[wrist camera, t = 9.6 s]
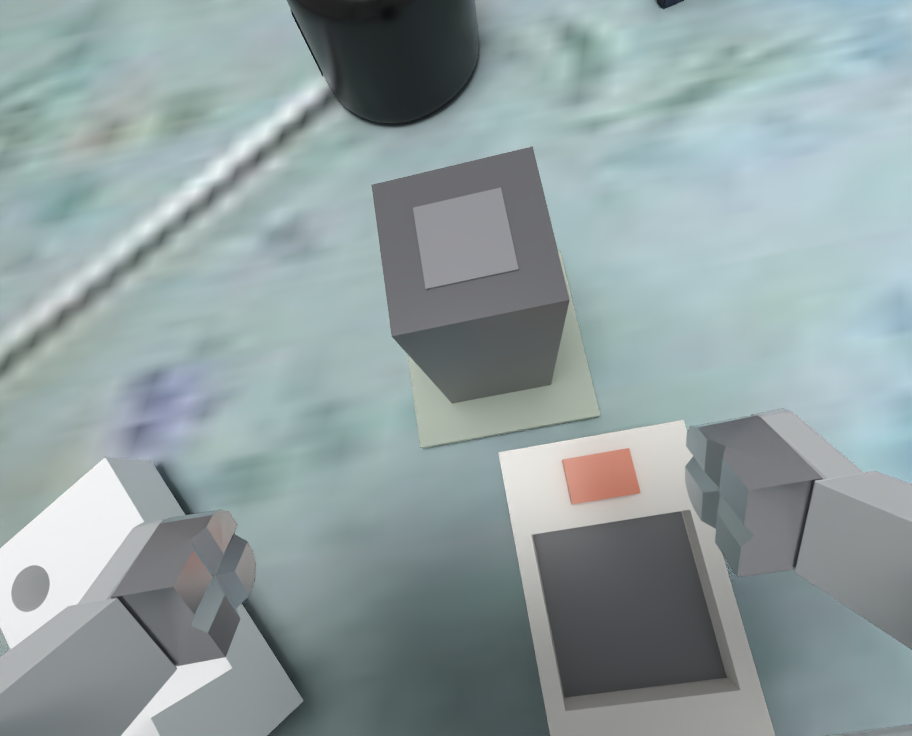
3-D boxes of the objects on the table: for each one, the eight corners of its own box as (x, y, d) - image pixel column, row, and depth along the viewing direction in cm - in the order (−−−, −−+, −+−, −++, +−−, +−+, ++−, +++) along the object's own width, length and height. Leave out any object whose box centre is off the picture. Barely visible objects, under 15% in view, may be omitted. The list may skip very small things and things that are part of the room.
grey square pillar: (452, 403, 22) (390, 335, 12) (437, 312, 23) (370, 183, 13) (551, 384, 21) (570, 298, 12) (530, 292, 22) (532, 144, 13)
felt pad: (423, 448, 22) (420, 447, 21) (400, 290, 24) (397, 285, 24) (598, 417, 21) (600, 415, 21) (559, 256, 23) (560, 250, 23)
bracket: (313, 691, 21) (195, 802, 13) (185, 810, 20) (-8, 993, 13) (165, 461, 24) (8, 450, 17) (54, 559, 24) (-156, 590, 16)
